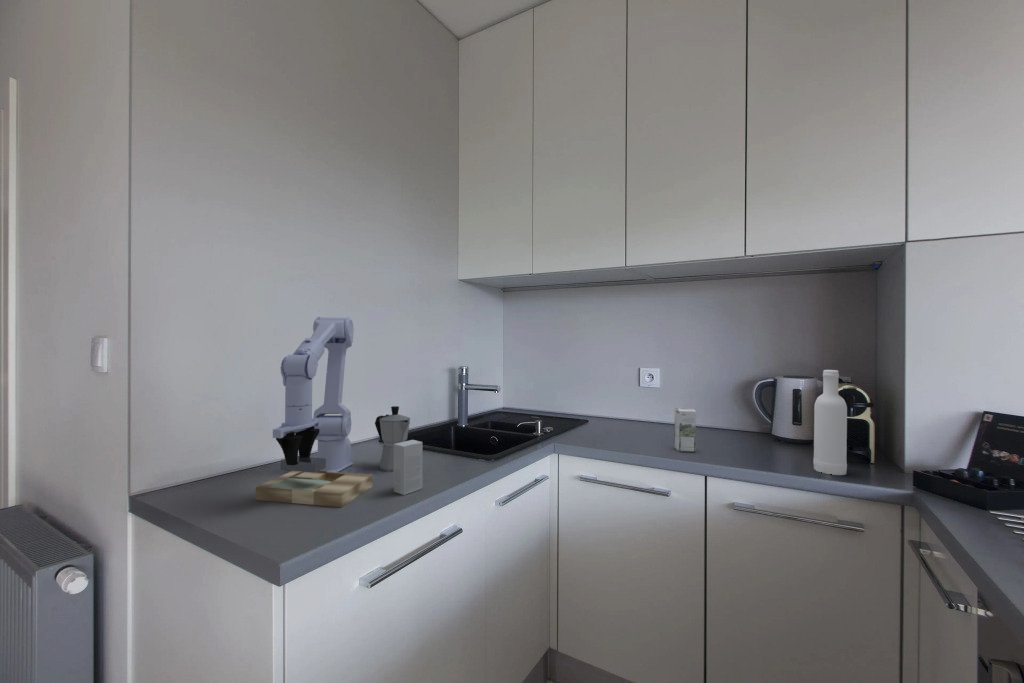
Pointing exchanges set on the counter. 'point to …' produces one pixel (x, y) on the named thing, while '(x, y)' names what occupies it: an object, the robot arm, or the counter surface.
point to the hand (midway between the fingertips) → (298, 462)
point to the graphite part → (305, 464)
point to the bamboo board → (315, 488)
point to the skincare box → (408, 466)
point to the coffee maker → (391, 435)
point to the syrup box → (685, 430)
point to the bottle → (830, 428)
